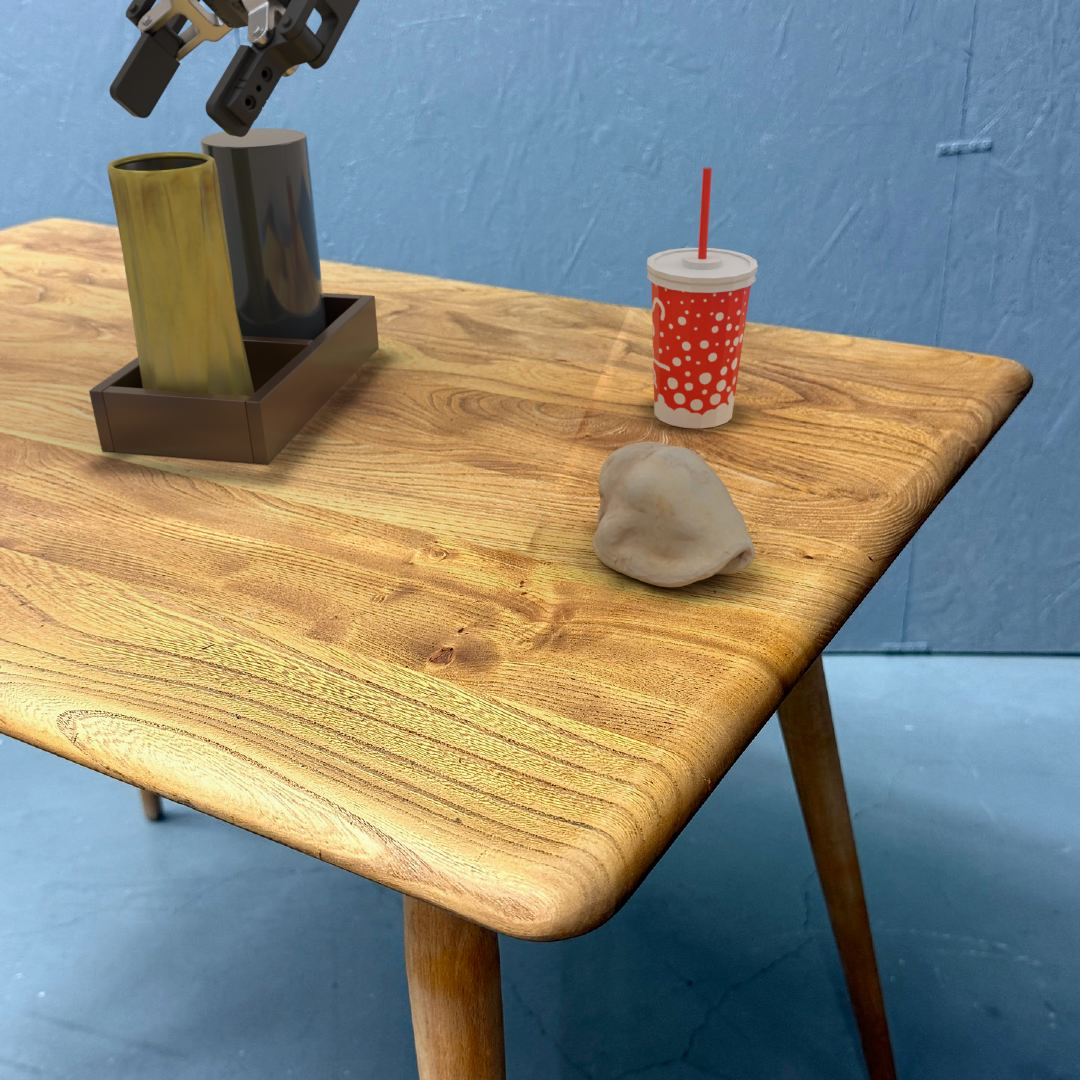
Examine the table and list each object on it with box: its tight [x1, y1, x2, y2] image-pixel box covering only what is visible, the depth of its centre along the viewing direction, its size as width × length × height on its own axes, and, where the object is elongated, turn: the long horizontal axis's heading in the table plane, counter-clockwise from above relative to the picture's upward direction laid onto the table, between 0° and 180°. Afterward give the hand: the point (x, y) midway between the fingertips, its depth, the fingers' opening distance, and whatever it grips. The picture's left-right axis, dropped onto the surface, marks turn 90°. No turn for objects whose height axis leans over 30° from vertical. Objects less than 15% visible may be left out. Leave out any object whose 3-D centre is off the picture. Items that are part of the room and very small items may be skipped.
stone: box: [592, 440, 756, 588], centre depth 53 cm, size 7×6×8 cm
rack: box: [88, 292, 380, 466], centre depth 69 cm, size 10×18×4 cm, turn 169°
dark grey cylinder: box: [199, 127, 327, 340], centre depth 70 cm, size 6×6×14 cm
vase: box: [106, 151, 254, 396], centre depth 61 cm, size 6×6×14 cm
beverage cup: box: [646, 166, 759, 429], centre depth 65 cm, size 6×6×14 cm
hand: (172, 116), depth 57 cm, fingers open, 8 cm apart
